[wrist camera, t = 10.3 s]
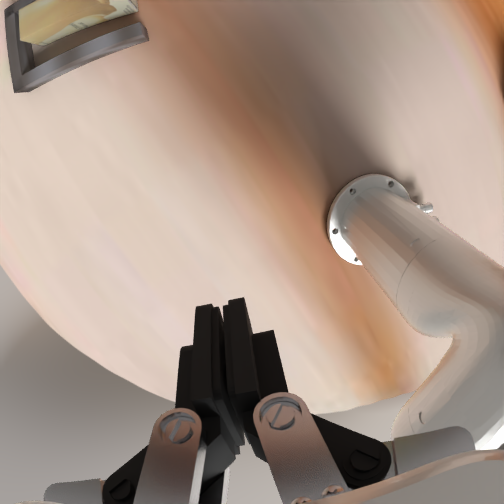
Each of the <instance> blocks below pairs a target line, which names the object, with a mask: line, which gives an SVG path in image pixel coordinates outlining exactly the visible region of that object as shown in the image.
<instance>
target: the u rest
mask: <svg viewBox="0 0 504 504" xmlns="http://www.w3.org/2000/svg"><path fill="white" fill-rule="evenodd" d="M34 1H36V0H18V1H17V2H15V3H14V4H12V5H11V6H9V7H8V8H6V9H5V28H6V39H7V49H8V57H9V64H10V71H11V77H12V83H13V89H14V93H20V92H30V91H32V90H34V89H36V88H37V87H39V86H41V85H43V84H45V83H47V82H49V81H51V80H53V79H55V78H57V77H59V76H61V75H63V74H65V73H67V72H69V71H71V70H73V69H75V68H78V67H80V66H82V65H84V64H87V63H89V62H91V61H94V60H96V59H99V58H101V57H104V56H106V55H109V54H111V53H114V52H117V51H119V50H122V49H125V48H128V47H131V46H134V45H137V44H140V43H143V42H146V41H149V38H148V33H147V29H146V28H145V27H144V26H143V25H142V24H141V23H140V22H138V23H135V24H132V25H129V26H127V27H124V28H121V29H118V30H116V31H113V32H110V33H108V34H105V35H103V36H100V37H98V38H95V39H93V40H91V41H88V42H86V43H84V44H81V45H79V46H77V47H75V48H73V49H71V50H68V51H66V52H64V53H62V54H60V55H58V56H56V57H54V58H52V59H50V60H49V61H47V62H45V63H43V64H41V65H39V66H38V67H36V68H35V65H34V59H33V52H32V45H31V43H28V42H24V41H21V40H20V30H19V10H20V9H21V8H23V7H25V6H27V5H28V4H30V3H32V2H34Z"/></svg>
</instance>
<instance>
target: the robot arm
mask: <svg viewBox="0 0 504 504" xmlns="http://www.w3.org/2000/svg"><path fill="white" fill-rule="evenodd" d="M388 183H389V184H388ZM350 189H351V191H350ZM432 211H433V206H432V204H431V203H424V204H421V205H418V204H417V203H415V202H413V201H412V200H411V199H410V196H409V194H408V192H407V191H406V189H405V188H404V187H403V186H402V184H400V183H399V182H398V181H396V180H395V179H393V178H391V177H389V176H386V175H382V174H368V175H363V176H361V177H358V178H356V179H354V180H353V181H351V182H349V183H348V184H347V185H346V186H345V187H344V188H343V189H341V191H340V192H339V193H338V195H337V196H336V197H335V199H334V201H333V203H332V205H331V207H330V210H329V213H328V219H327V233H328V237H329V241H330V243H331V245H332V247H333V248H334V250H335V251H336V252H337V254H338V255H339V256H340V257H342V258H343V259H344V260H346V261H348V262H350V263H352V264H356V265H363V266H364V268H365V269H366V270H367V271H368V272H369V274H370V275H371V276H372V277H373V279H374V280H375V281H376V283H377V284H378V285H379V286H380V288H381V289H382V290H383V291H384V293H385V294H386V295H387V297H388V298H389V299H390V300H391V302H392V303H393V304H394V306H395V307H396V308H397V310H398V311H399V312H400V314H401V315H402V316H403V318H404V319H405V320H406V322H407V323H408V324H409V325H410V326H411V327H412V328H413V329H414V330H416V331H417V332H419V333H421V334H423V335H425V336H429V337H435V338H453V340H452V344H451V346H450V348H449V349H448V351H447V352H446V354H445V355H444V357H443V358H442V359H441V361H440V363H439V364H438V365H437V367H436V368H435V369H434V370H433V372H432V373H431V374H430V375H429V377H428V378H427V379H426V380H425V381H424V383H423V384H422V385H421V386H420V387H419V388H418V390H417V391H416V392H415V393H414V394H413V396H412V397H411V398H410V399H409V400H408V401H407V403H406V404H405V405H404V406H403V408H402V409H401V410H400V412H399V413H398V415H397V417H396V418H395V420H394V423H393V426H392V429H391V441H388V442H380V441H378V440H376V439H373V438H370V437H367V436H365V435H362V434H359V433H357V432H354V431H352V430H349V429H347V428H344V427H342V426H339V425H337V424H335V423H332V422H330V421H327V420H325V419H323V418H320V417H318V416H316V415H314V414H311V413H310V411H309V409H308V407H307V405H306V404H305V402H304V401H303V400H302V399H301V398H300V397H298V396H297V395H295V394H292V393H288V388H287V384H286V380H285V376H284V372H283V368H282V363H281V359H280V355H279V351H278V347H277V343H276V338H275V334H274V330H270V331H266V332H261V333H256V334H253V332H252V327H251V323H250V319H249V315H248V311H247V307H246V303H245V299H244V297H243V298H238V299H233V300H228V305H224V306H223V318H222V315H221V312H220V309H219V307H213V305H212V304H207V305H202V306H197V307H196V310H195V324H194V339H193V345H190V346H184V347H182V348H181V350H180V358H179V368H178V379H177V391H176V404H175V405H176V406H175V409H172V410H169V411H167V412H165V413H164V414H162V415H161V416H160V417H159V418H158V419H157V420H156V422H155V424H154V427H153V430H152V434H151V437H150V441H149V445H147V446H146V447H145V448H144V449H142V451H140V452H139V453H138V454H137V455H135V456H134V457H133V458H132V459H130V460H129V461H128V462H127V463H126V464H124V465H123V466H122V467H121V468H119V469H118V470H117V471H116V472H114V473H113V474H112V475H111V476H110V477H109V478H108V479H107V480H101V479H100V478H99V479H91V480H84V481H74V482H63V483H55V484H52V485H50V486H49V487H48V488H47V490H46V491H45V494H44V501H25V502H20V503H16V504H227V495H228V484H229V474H230V468H229V465H230V464H231V463H232V462H233V461H234V460H235V459H236V457H235V455H236V454H240V448H239V446H242V445H245V440H244V433H245V436H246V438H247V440H248V442H249V444H251V446H252V448H253V451H254V453H255V455H256V456H257V457H258V458H260V459H262V460H263V461H265V462H267V463H268V464H269V466H270V470H271V473H272V475H273V478H274V481H275V484H276V486H277V489H278V492H279V494H280V497H281V500H282V502H283V504H504V267H503V266H501V265H499V264H498V263H496V262H495V261H494V260H492V259H491V258H489V257H488V256H486V255H485V254H484V253H482V252H481V251H479V250H478V249H477V248H475V247H474V246H473V245H471V244H470V243H469V242H467V241H466V240H464V239H463V238H461V237H460V236H459V235H457V234H456V233H454V232H453V231H452V230H450V229H449V228H447V227H446V226H444V225H443V224H442V223H440V222H439V220H438V218H437V217H436V216H433V217H431V216H430V215H428V214H427V213H431V212H432ZM333 229H334V230H333ZM223 319H224V322H223Z"/></svg>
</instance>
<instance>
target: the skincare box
mask: <svg viewBox="0 0 504 504" xmlns="http://www.w3.org/2000/svg"><path fill="white" fill-rule="evenodd" d="M135 12H138V3H137V0H36V1H34V2H32V3H30V4H28V5H27V6H25V7H23V8H21V9H20V10H19V30H20V40H21V41H24V42H28V43H32V44H37V45H42V46H46V45H48V44H50V43H52V42H54V41H56V40H59V39H61V38H63V37H65V36H68V35H70V34H73V33H75V32H78V31H80V30H83V29H85V28H88V27H91V26H94V25H96V24H99V23H102V22H105V21H108V20H111V19H114V18H118V17H121V16H124V15H128V14H131V13H135Z"/></svg>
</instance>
